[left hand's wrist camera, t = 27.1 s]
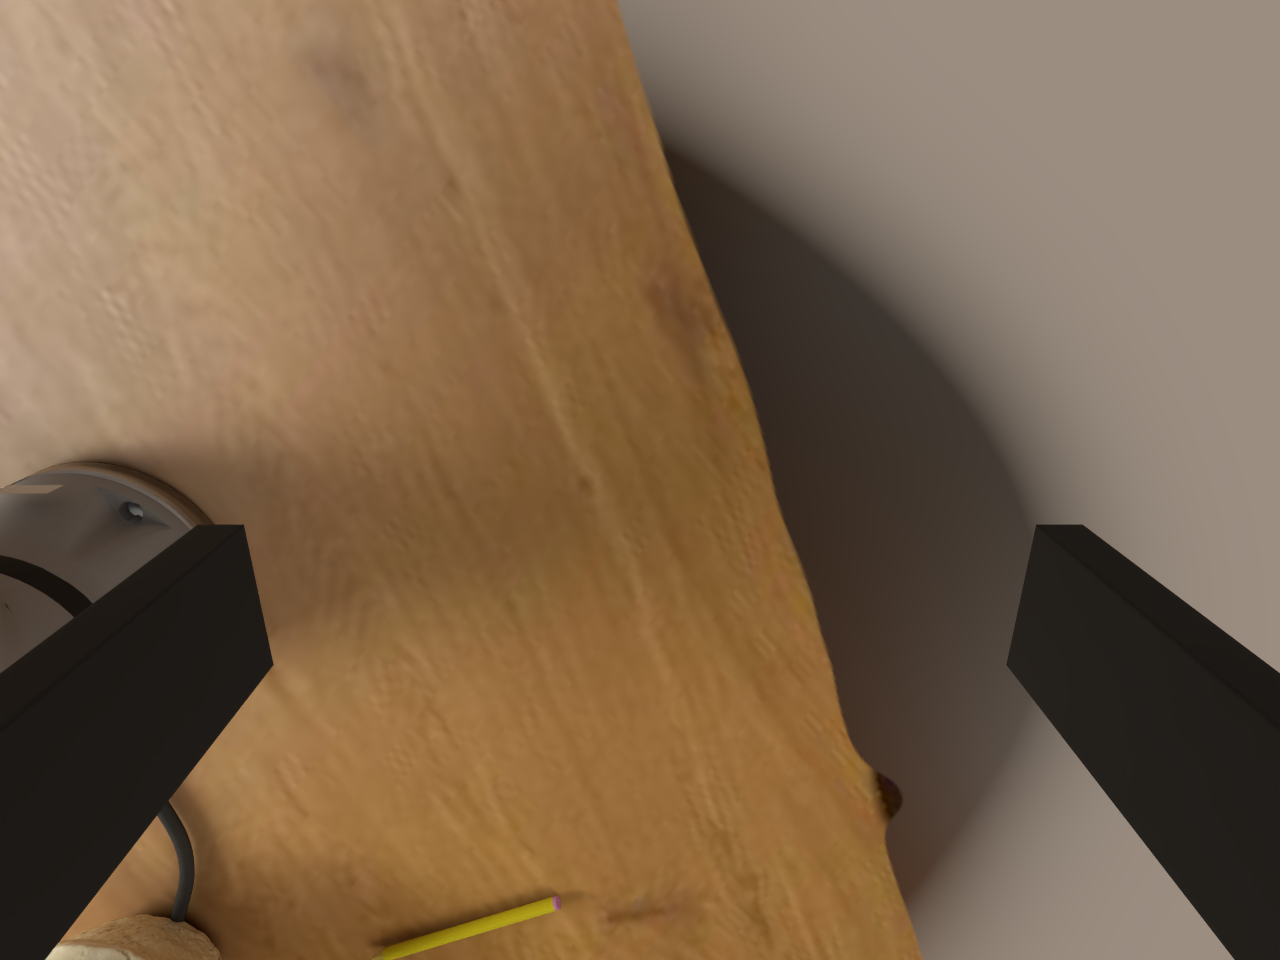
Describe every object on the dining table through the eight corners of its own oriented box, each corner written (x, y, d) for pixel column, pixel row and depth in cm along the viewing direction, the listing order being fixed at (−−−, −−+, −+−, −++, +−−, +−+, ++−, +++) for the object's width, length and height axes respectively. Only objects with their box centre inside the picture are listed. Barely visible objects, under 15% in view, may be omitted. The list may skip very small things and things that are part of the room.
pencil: (556, 892, 57) (554, 903, 56) (561, 901, 58) (560, 912, 57) (368, 949, 60) (364, 961, 59) (375, 957, 60) (370, 969, 59)
